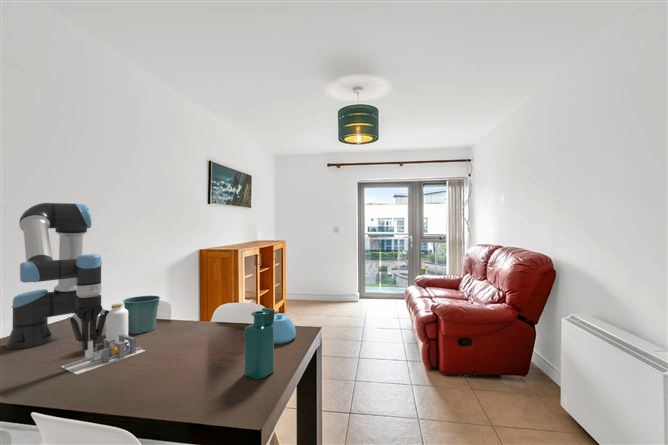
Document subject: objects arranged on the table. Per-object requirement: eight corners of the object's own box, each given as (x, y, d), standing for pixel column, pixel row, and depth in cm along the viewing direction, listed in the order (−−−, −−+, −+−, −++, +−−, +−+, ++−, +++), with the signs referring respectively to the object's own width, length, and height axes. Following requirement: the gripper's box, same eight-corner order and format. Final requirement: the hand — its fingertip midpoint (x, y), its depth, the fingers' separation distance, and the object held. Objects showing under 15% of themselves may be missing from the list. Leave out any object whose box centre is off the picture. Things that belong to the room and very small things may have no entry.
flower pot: (151, 323, 173) (151, 293, 174) (166, 328, 164) (166, 297, 164) (117, 331, 160) (117, 299, 160) (131, 338, 150) (131, 304, 151)
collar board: (60, 369, 118) (60, 350, 118) (128, 347, 139) (128, 331, 139) (76, 377, 112) (76, 357, 112) (145, 353, 132) (145, 336, 132)
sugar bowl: (256, 342, 144) (256, 316, 144) (274, 331, 158) (274, 308, 158) (285, 346, 138) (285, 320, 138) (301, 335, 152) (301, 311, 152)
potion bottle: (117, 349, 137) (116, 307, 137) (100, 347, 138) (100, 306, 139) (132, 342, 145) (132, 302, 145) (117, 341, 147) (117, 302, 147)
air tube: (93, 365, 120) (95, 357, 119) (88, 358, 122) (91, 350, 121) (132, 352, 132) (134, 344, 131) (127, 346, 134) (130, 338, 133)
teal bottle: (259, 381, 108) (258, 316, 108) (242, 375, 112) (241, 312, 112) (278, 369, 116) (278, 309, 116) (262, 364, 120) (261, 306, 121)
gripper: (72, 299, 113) (72, 366, 113) (113, 293, 124) (113, 353, 124) (63, 297, 117) (63, 362, 117) (103, 291, 128) (103, 349, 128)
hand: (89, 357), depth 120 cm, fingers closed
